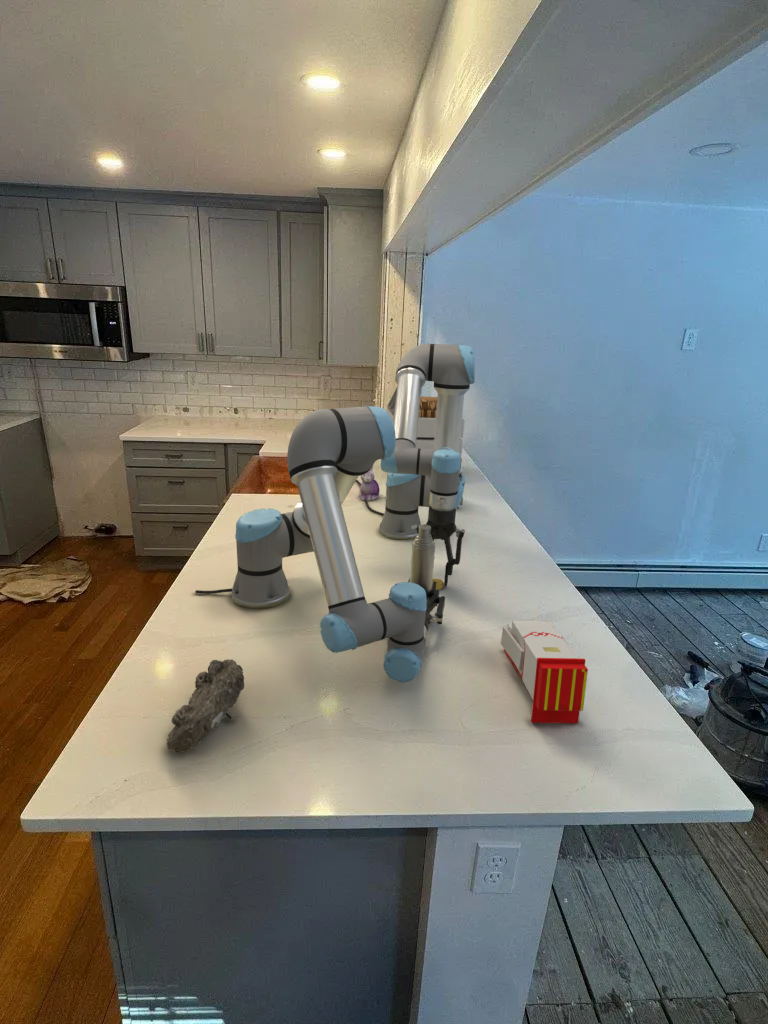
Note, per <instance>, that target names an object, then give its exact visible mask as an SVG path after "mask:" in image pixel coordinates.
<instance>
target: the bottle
mask: <svg viewBox="0 0 768 1024" xmlns="http://www.w3.org/2000/svg"><path fill="white" fill-rule="evenodd" d="M430 531H431V526H429V525H424V524H421V525H420V526H419V534H418V535H417V537H416V538H415V539H413V541H412V543H411V553H410V568H409V579H410V582H411V583H415V584H418V585H420V587H422V588H423V589H424V590H425V592H426V602H427V601H428V600H429V599H430V598H431V591H432V580H433V578H434V568H435V567H434V565H435V553H436V542H435V540H434V541H433V539H432V537H431V535H430ZM429 614H430V615H431V612H430V613H429Z"/></svg>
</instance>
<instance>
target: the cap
mask: <svg viewBox="0 0 768 1024" xmlns="http://www.w3.org/2000/svg"><path fill="white" fill-rule="evenodd" d="M433 582H436V590H441V589H443V588H444V580H443V579H441V578H438V577H437V578H435V577H433V580H432V586H433Z"/></svg>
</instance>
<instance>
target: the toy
mask: <svg viewBox="0 0 768 1024" xmlns="http://www.w3.org/2000/svg"><path fill="white" fill-rule="evenodd" d="M500 645H501V646H502V648H503V652H504V654H505V655H506V657H507V658H508V660H509V661H510V663H511V664H512V666H513V668H514V669H515V671H516V672H517V674H518V676H519V677H520V679H521V680H522V683H523V685H524V686H525V688H526V690H527V692H528V694H529V696H530V697H531V699H532V708H531V719H530V722H531V723H532V724H579V719H580V712H583V711H584V706H585V697H586V689H587V680H588V671H589V669H588V667H587V666H586V659H585V658H580V657H579V656H578V655H577V654H576V652H575V651H574V650H573V648H572V647H571V646H570V645H569V644H568V642H567V641H566V640H565V638H564V637H563V636H562V634H561V633H560V632H559V631H558V630H557V628H556V627H555V626H554V624H553V623H552V622H551V621H549V620H548V621H545V620H540V621H539V620H511V622H508V623H507V626H502V632H501V638H500Z"/></svg>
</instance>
